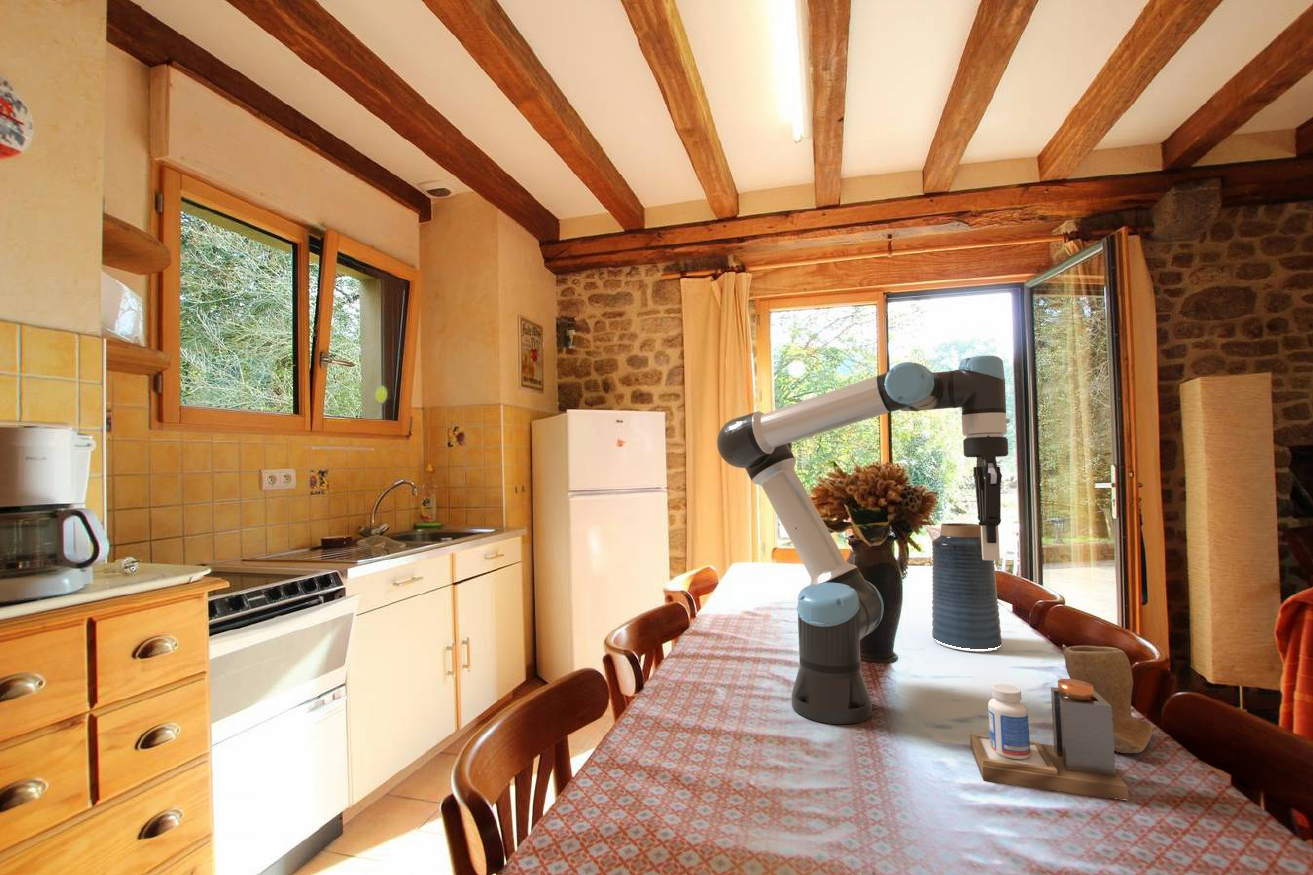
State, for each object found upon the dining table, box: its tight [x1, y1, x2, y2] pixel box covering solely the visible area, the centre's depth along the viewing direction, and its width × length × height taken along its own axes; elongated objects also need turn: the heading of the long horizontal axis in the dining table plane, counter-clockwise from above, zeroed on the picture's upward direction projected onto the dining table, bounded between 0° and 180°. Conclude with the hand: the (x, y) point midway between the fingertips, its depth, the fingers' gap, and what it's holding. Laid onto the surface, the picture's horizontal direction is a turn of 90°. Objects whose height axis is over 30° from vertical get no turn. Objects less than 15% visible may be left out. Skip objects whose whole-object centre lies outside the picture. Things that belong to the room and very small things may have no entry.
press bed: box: [969, 732, 1129, 801], centre depth 89 cm, size 18×11×3 cm, turn 70°
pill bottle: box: [987, 683, 1031, 759], centre depth 91 cm, size 6×5×10 cm
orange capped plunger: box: [1057, 678, 1094, 700], centre depth 88 cm, size 4×4×12 cm
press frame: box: [1050, 686, 1117, 777], centre depth 88 cm, size 6×6×10 cm
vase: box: [931, 522, 1003, 649], centre depth 155 cm, size 16×16×32 cm
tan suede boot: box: [1063, 645, 1154, 754], centre depth 101 cm, size 15×12×15 cm
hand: (990, 559), depth 110 cm, fingers closed
